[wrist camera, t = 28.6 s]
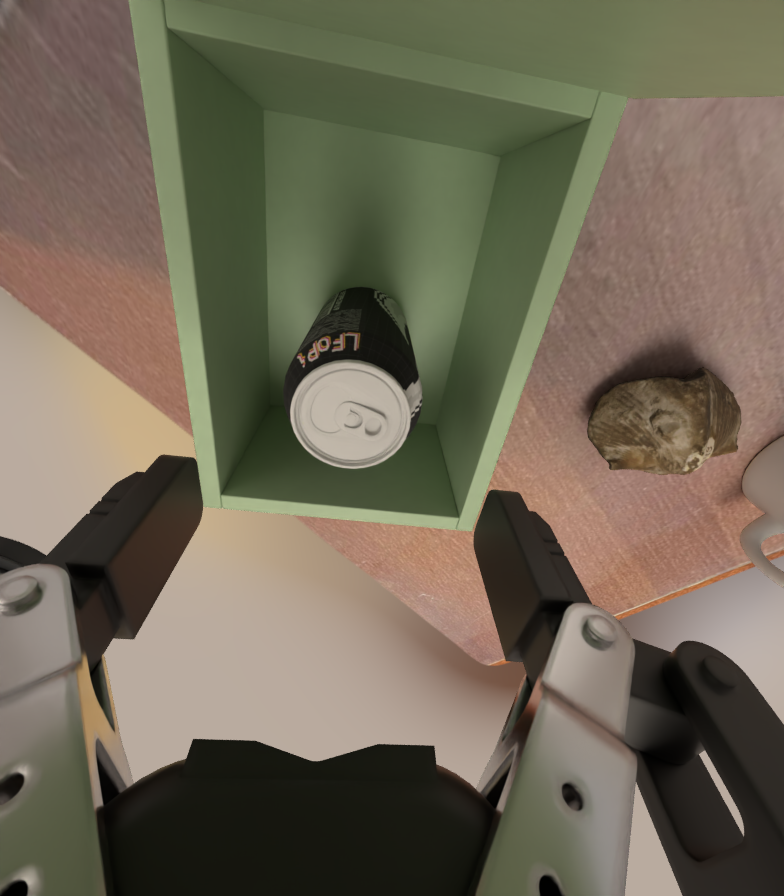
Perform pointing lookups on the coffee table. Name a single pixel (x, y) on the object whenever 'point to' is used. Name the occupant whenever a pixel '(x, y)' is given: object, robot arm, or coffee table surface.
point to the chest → (357, 241)
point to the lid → (575, 39)
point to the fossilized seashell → (665, 423)
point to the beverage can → (354, 381)
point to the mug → (765, 505)
